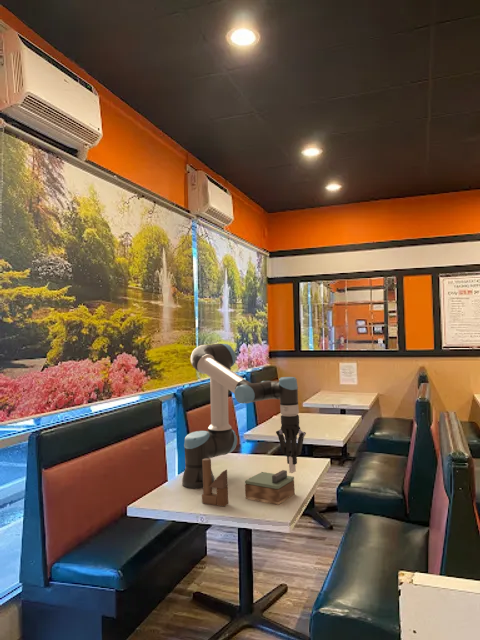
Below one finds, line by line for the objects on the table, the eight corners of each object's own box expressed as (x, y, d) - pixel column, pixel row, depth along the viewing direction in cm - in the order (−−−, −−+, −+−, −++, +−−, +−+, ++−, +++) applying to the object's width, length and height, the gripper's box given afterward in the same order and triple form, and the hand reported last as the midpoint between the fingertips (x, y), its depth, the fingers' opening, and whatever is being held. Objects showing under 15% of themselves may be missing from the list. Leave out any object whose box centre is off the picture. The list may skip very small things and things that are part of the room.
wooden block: (224, 507, 200) (222, 462, 200) (201, 503, 205) (200, 459, 205) (228, 503, 203) (227, 460, 203) (206, 500, 208) (204, 457, 208)
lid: (244, 483, 209) (244, 473, 209) (262, 474, 220) (261, 465, 220) (277, 489, 200) (277, 478, 200) (294, 479, 211) (293, 469, 211)
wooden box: (245, 498, 209) (244, 484, 209) (262, 488, 220) (262, 475, 220) (278, 504, 200) (277, 489, 200) (294, 494, 211) (294, 480, 211)
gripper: (271, 415, 205) (274, 472, 204) (299, 417, 198) (302, 476, 197) (280, 412, 211) (283, 467, 211) (308, 413, 204) (310, 471, 203)
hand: (292, 471), depth 204 cm, fingers closed
